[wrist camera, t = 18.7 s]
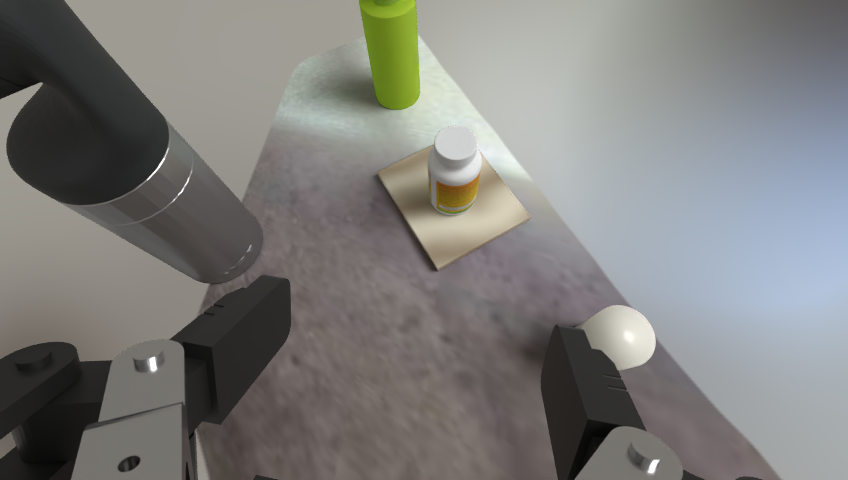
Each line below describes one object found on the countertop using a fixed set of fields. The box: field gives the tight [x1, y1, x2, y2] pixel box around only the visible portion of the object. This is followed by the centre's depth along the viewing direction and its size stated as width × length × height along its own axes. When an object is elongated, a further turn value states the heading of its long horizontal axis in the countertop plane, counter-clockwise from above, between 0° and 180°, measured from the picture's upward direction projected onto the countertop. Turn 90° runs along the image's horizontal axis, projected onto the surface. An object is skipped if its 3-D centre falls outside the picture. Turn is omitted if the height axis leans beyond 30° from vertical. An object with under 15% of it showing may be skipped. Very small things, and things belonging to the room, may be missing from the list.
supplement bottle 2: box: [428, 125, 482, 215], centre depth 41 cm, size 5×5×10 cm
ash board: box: [377, 145, 531, 271], centre depth 46 cm, size 14×12×1 cm
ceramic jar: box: [575, 305, 655, 371], centre depth 36 cm, size 5×5×7 cm
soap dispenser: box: [359, 0, 420, 110], centre depth 44 cm, size 6×7×20 cm
